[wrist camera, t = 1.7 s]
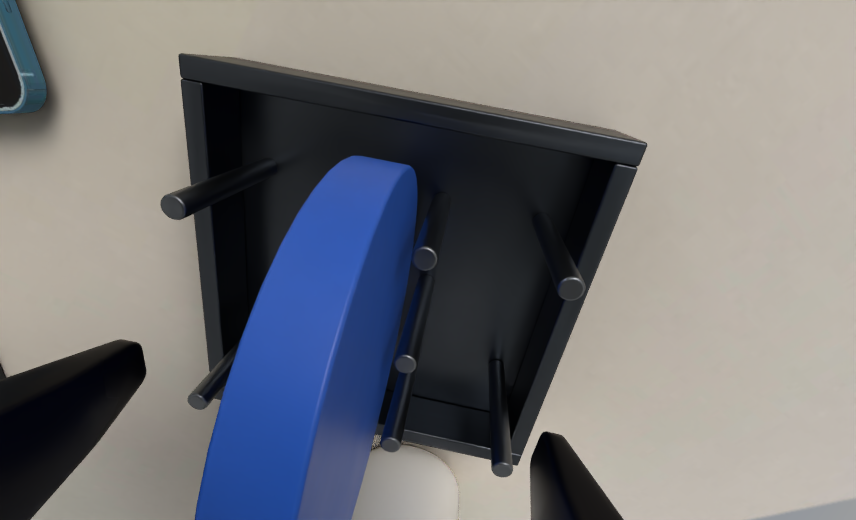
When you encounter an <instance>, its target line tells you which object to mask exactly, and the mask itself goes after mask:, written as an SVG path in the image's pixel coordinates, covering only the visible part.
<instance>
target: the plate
mask: <svg viewBox="0 0 856 520" xmlns="http://www.w3.org/2000/svg"><path fill="white" fill-rule="evenodd" d="M416 215H417V179H416V174H415V171H414V169H413V168H412V167H411V166H410V165H405V164H400V163H395V162H390V161H385V160H380V159H375V158H370V157H365V156H351V157H348V158H346V159H344V160H341V161H340V162H339V163H338V164H336V165H335V166H334V167H333V168H332V169H330V170H329V171H328V172H327V174H326V175H325V176H324V177H323V178H322V179H321V181H320V182H319V183H318V184H317V185H316V187H315V188H314V189H313V191H312V192H311V194H310V195H309V197H308V198H307V200H306V201H305V203H304V204H303V206H302V207H301V209H300V210H299V212H298V214H297V215H296V217H295V219H294V221H293V223H292V225H291V226H290V228H289V230H288V232H287V234H286V236H285V237H284V239H283V241H282V243H281V245H280V247H279V249H278V251H277V253H276V256H275V258H274V260H273V262H272V264H271V266H270V269H269V271H268V273H267V275H266V277H265V280H264V282H263V284H262V286H261V288H260V291H259V293H258V296H257V299H256V301H255V304H254V306H253V309H252V311H251V314H250V317H249V319H248V322H247V324H246V327H245V329H244V332H243V335H242V337H241V340H240V343H239V346H238V349H237V352H236V355H235V359H234V362H233V365H232V368H231V371H230V374H229V377H228V380H227V383H226V386H225V389H224V392H223V396H222V399H221V403H220V407H219V411H218V414H217V418H216V422H215V426H214V429H213V433H212V437H211V441H210V444H209V448H208V452H207V457H206V462H205V467H204V472H203V477H202V482H201V487H200V492H199V496H198V501H197V507H196V514H195V520H351V519H352V515H353V512H354V509H355V505H356V502H357V498H358V495H359V491H360V488H361V484H362V481H363V477H364V473H365V470H366V466H367V462H368V459H369V455H370V451H371V447H372V443H373V439H374V435H375V431H376V427H377V424H378V420H379V415H380V411H381V407H382V403H383V399H384V395H385V390H386V386H387V382H388V377H389V373H390V368H391V364H392V359H393V355H394V350H395V345H396V341H397V336H398V331H399V326H400V321H401V316H402V310H403V305H404V300H405V294H406V288H407V283H408V277H409V270H410V264H411V255H412V250H413V243H414V235H415V226H416Z"/></svg>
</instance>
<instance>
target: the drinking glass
mask: <svg viewBox="0 0 856 520" xmlns="http://www.w3.org/2000/svg"><path fill="white" fill-rule="evenodd" d="M459 498H460V497H459V486H458V482H457V479H456V477H455V475H454V473H453V472H452V470H451V469H450V467H449V466H448V465H447V464H446V463H445V462H444V461H443V460H442V459H440V458H439V457H437V456H436V455H434V454H432V453H430V452H428V451H426V450H424V449H421V448H418V447H414V446H408V445H401V447H400V449H399V450H398V451H396V452H387V451H385V450H383V449H382V447H379V448H376V449H374V450H372V451H370V455H369V459H368V462H367V466H366V470H365V473H364V477H363V481H362V484H361V488H360V491H359V495H358V498H357V502H356V505H355V509H354V512H353V515H352V519H351V520H459Z"/></svg>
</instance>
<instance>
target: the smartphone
mask: <svg viewBox="0 0 856 520" xmlns="http://www.w3.org/2000/svg"><path fill="white" fill-rule="evenodd" d="M46 95H47V88H46V83H45V79H44V76H43V74H42V71H41V68H40V66H39V63H38V60H37V58H36V55H35V52H34V50H33V47H32V44H31V41H30V39H29V36H28V33H27V31H26V28H25V25H24V23H23V20H22V17H21V15H20V12H19V9H18V7H17V4H16V1H15V0H0V114H12V113H30V112H35V111H37V110H39V109H40V108H41V107H42V106H43V104H44V102H45V100H46Z"/></svg>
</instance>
